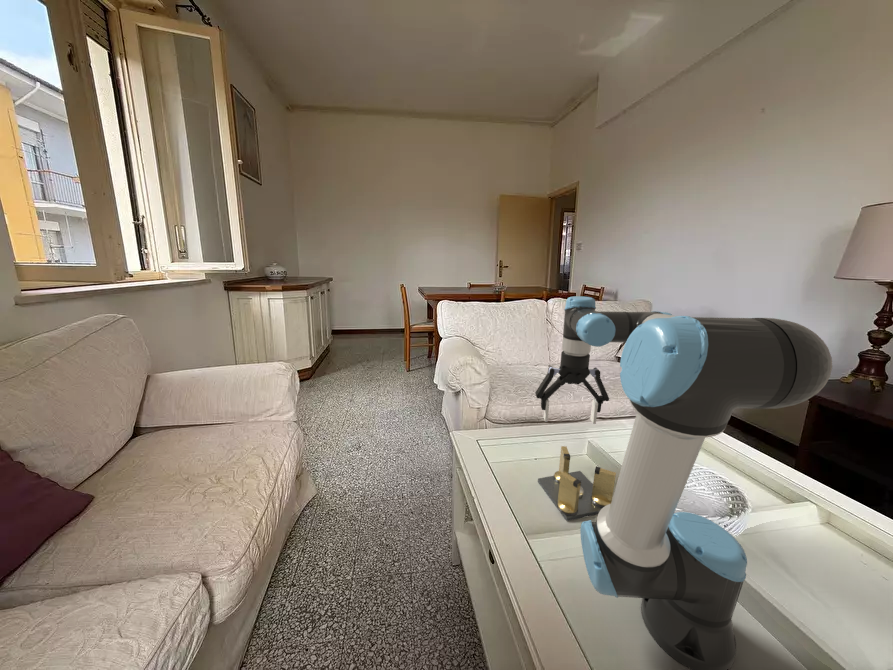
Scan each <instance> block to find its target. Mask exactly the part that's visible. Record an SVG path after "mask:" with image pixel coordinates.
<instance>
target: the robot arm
mask: <svg viewBox="0 0 893 670" xmlns="http://www.w3.org/2000/svg"><path fill="white" fill-rule="evenodd" d="M563 310H564V319H563V328H562V329H563V333H562V341H561V342H562V343H561V350H562V351H561V355H560V365H559V367H558V368H557V367H553V366H552V365H550V366H548V370H547V373H546V375H545V376H544V378H543V379H542V381H541V383H540V384H539V386H538V387H537V389H536V391H535V393H534V394H535V396H536V398H537V399H540V408H541V410H542V411H543V420H544V422H548V421H549V409H550V408H549V407H550V400H549V398H550V397H552V395H553V394H555V392H557V391H558V390H559V389H560V388H561V387H562V386H564V385H565V384H567V385H573V384H574V385H580V384H583V385H584V386H585V388H586V389H587V390H588V391H589V392H590V393H591V395H592V396H593V397H594V398H593V399H592V400H591V401H592V402H591V411H590V417H589V419H590V421H591V423H592V424H593V425H595V424H597V416H598V413H601V409H602V405H603V404H604V402H608V401H609V400H610V397H609V395H608V392H607V390H606V388H605V386H604V383H603V380H602V378H601V370H599V368H597V367H593V368H590V369H589V367H590V357H591V355H590V353H591V352H592V351H591V349H592V347H595V348H596V347H598V348H599V347H603V346H605V345H609V344H610V343H618V344H620V343H624V346H623V349H622V352H621V357H620V363H619V367H620V368H621V371H620V372H619V379H620V383H621V388H622V391H623V392H624V394H625V396H626V397H627V398H628V399H629V403H630V405H631V407H632V409H633V410H634V411H635V412H636V415H635V418H634V421H633V426H632V430H631V432H630V436H629V440H628V443H627V447H626V451H625V454H624V457H623V461H622V463H621V467H620V471H619V474H618V478H617V481H616V485H615V487H614V490H613V497H612V502H611V504H609V505H606V506H605V507H603V508H602V509H601V510H600V512H599V514H597V517H596V520H595V521H592V520H591V519H589V520H585V521H582V522H581V524H580V530H579V531H580V543H581V550H582V554H583V560H584V565H585V567H586V571H587V574H588V578H589V580H590V583H591V585H592V587H593V588H594V590H595V591H597V592H598V593H599V594H600V595H604V596H610V597H612V596H613V597H615V598H617V599H618V598H634V599H641V605H640V612H641V613H640V614H641V617H642V618H641V619H642V620H643V623H644V625H645V627H646V630H647V631H648V633H649V634H650V636H651V637H652V639H653V640H654V641H655V643H656V644H657V645H658V646H660V648H662V650H663V651H664V652H665V653H667V654H668V655H669V656H670V657H671V658H673V659H674V660H676V661H677V662H679V663H680V664H681V665H684V666H685V667H687V668H689V669H692V670H727V669H728V670H729V669H731V667H732V665H733V663H734V661H735V658H736V654H737V640H736V635H735V633H734V628H733V627H734V626H733V621H732V619H733V615H734V612H735V608H736V605H737V603H738V600H739V597H740V593H741V591H742V587H743V584H744V581H745V580H746V577H747V573H746V570H747V567H748V566H747V565H748V556H747V554H746V552H745V550H744V548H743V546H742V545H741V543H740V542H739V541H738V540H737V539H736V538H735V537H734V536H733V535H732V534H731V533H730V532H728V531H727V530H726V529H725V528H724V527H722V526H721V525H719V524H718V523H715V522H713V521H712V520H711V519H709V518H707V517H705V516H702V515H699V514H696V513H692V512H688V511H677V512H675V511H676V509H677V506H678V504H679V501H680V499H681V497H682V494H683V492H684V490H685V487H686V484H688V483H687V482H688V480H689V478H690V475H691V473H692V470H693V468H694V466H695V463H696V461H697V459H698V456H699V453H700V452H701V450H702V446H703V445H704V442H705V440H706V438H714V437H716V436H719V435H720V434H723V432H724V431H725V429H726V428H727V425H728V423H729V421H730V419H731V416H732V415H733V413H734V411H735V410H736V409H781V408H786V407H787V408H788V407H791V406H795V405H798V404H801V403H804V402H806V401H808V400H809V399H811V398H813V397H815V396H816V395H818V394H819V393H820V392H821V390H822V389H824V387H825V386H826V384H827V383H828V381H829V379H830V378H831V375H832V372H833V371H832V369H833V358H832V355H831V352H830V349H829V347H828V346H827V344H826V342H825V341H824V340H823V339H822V338H821V337H820V336H819V335H818V334H817V333H816V332H815V331H813V330H811V329H810V328H809V327H806V326H804V325H802V324H800V323H797V322H793V321H790V320H786V319H780V318H773V317H772V318H771V317H752V318H751V317H697V316H696V317H693V316H688V315H673V314H671V313H670V312H668V311H667V312H666V311H665V312H664V311H596V300H595V298H594V297H590V296H581V295H579V296H575V295H574V296H570V297H567V299H566V300H565V308H564V309H563ZM557 374H559V376H558V377H557V379H556V380H555V381H554V382H553V383H552V384H550V383H551V381H552V380H553V378H554V376H557ZM589 375H591V376H592V377H593V378H594V381H595V383H596V386H597V388H598V391H599V393H600V394H601V395H599V394H598V392H597V391H596V390H595V389H594V388H593V387H592V386H591V384H590V383H589V381H588V380H587V378H588V377H589ZM549 385H550V386H549Z"/></svg>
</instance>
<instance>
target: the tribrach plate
mask: <svg viewBox="0 0 893 670" xmlns="http://www.w3.org/2000/svg"><path fill="white" fill-rule="evenodd" d="M569 474H570V475H571V476H572V477H574V478H575V479H578V480H580V481H581V485H580V494H579V502H578V510H577V511H576V512H575V513H572V514H569V513H565V512H563V511H561V510H560V509H559V507H558V494H559V484H560V482H559V481H557V480H556V479H555V477H554V475H550V476H544V477H540V478H537V483H538V485H539V486H540V487H541V488H542V489H543V491H544V492H545V494H546V495H547V497H548V498H549V499H550V501H551V502H552V503H553V505H554V506H555V508H556V509H557V510H558V512H559V513H560V514H561V516H562V517H563V518H564V520H565V521H566V522H569V521H573V520H578V519H582V518H587V517H591V516H595V515H598V514H599V512H600V510H601V509H602V508H603V507H605V506H602V505H599V504H597V503H595V502H594V501H593V499H592V489H593V482H592V481H590V479H589V478H588V477H586V476H585V473H583V471H581V470H576V471H572V472H569Z"/></svg>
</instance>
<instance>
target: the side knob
mask: <svg viewBox="0 0 893 670" xmlns="http://www.w3.org/2000/svg"><path fill="white" fill-rule="evenodd" d="M593 474H594V476H593V482H592V484H593V489H592V499H593V501H594V502H595V503H597V504H599V505H602V506H606V505H609V504H611V502H612V498H613V495H614V491H615V482H616V477H617V476H616V475H617V472H616V471H615V472H614V471H612V470H608V469H605V468H602V467H599V466H595V468H594V473H593Z"/></svg>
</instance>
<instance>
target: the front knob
mask: <svg viewBox="0 0 893 670" xmlns="http://www.w3.org/2000/svg"><path fill="white" fill-rule="evenodd" d="M580 485H581V481H580V480H578V479H575V478H574V477H572V476H570V475H569V474H567V473H565V472H563V473H561V474H560V484H559V494H558V507H559V509H560V510H561V511H563V512H565V513H569V514H572V513H575V512H576V511H577V510H578V502H579V494H580Z"/></svg>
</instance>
